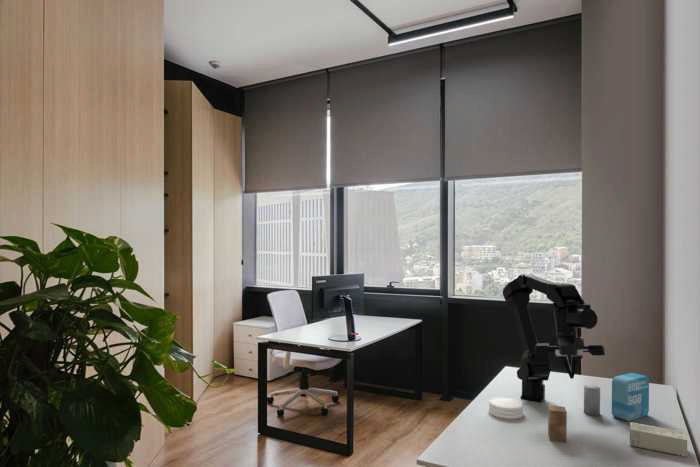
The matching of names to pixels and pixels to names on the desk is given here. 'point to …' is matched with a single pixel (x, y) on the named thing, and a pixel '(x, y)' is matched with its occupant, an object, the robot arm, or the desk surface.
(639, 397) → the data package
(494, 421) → the desk surface
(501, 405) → the coaster
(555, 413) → the walnut block
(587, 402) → the grey cylinder
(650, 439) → the skincare box
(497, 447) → the desk surface
